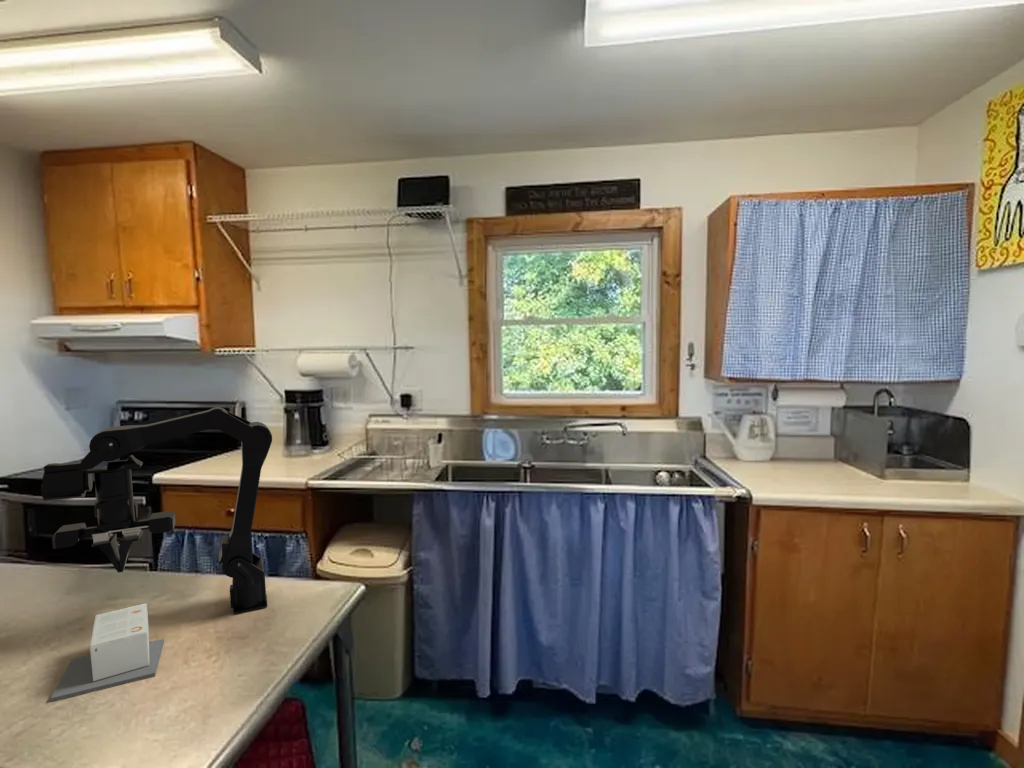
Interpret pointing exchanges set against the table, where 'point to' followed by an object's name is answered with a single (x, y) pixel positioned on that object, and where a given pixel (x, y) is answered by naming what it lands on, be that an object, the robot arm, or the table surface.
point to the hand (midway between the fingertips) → (120, 571)
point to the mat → (81, 678)
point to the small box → (119, 642)
